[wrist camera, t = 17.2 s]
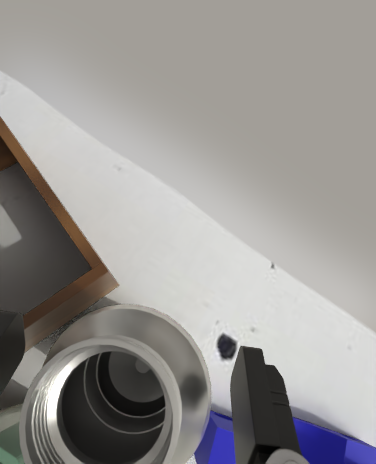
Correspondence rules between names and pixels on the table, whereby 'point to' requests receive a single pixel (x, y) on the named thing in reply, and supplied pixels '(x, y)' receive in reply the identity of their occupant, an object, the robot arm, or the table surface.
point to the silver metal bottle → (118, 392)
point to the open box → (99, 277)
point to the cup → (10, 435)
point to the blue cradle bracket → (309, 437)
